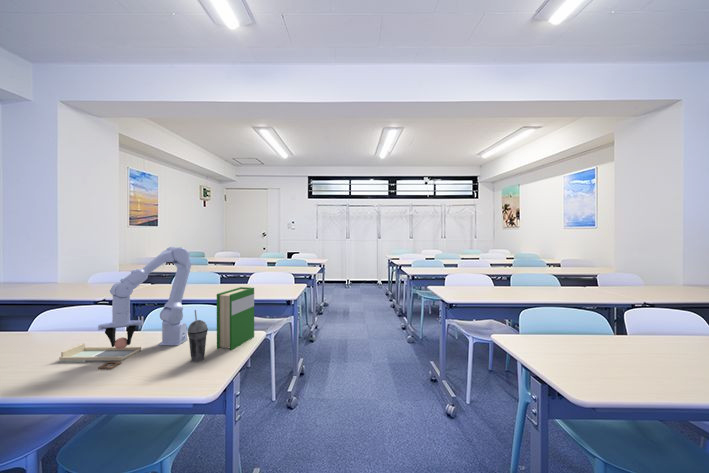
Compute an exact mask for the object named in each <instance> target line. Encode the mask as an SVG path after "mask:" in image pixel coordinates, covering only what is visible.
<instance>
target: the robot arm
mask: <svg viewBox="0 0 709 473" xmlns="http://www.w3.org/2000/svg"><path fill="white" fill-rule="evenodd" d="M170 262H171V263H173V265H175V267H176V272H175V275H174V278H173V283H172V286H171V290H170V293H169V294H170V295H169V298H168V301H166V303H165V304H164V305H163V308H162V310H160V313H159V318H160V320H161V321H162V323H161V335H162V337H161V342H160V343H157V346H179V345H182V343H184V342H186V341H188V340H189V337H188V333H187V332H188V326H187V324H186V323H183V322H181V321H182V320H183V318H184V313H183V310H184V307H183V304H182V301H183V298H184V294H185V291H186V286H187V282H188V280H189V277H190V276H189V274H190V271H191V269H192V268H191V267H192V264H191V260H190V252H189V251H188V250H187V249H186V247H185V248H184V247H183V246H180V247H175V246H169V247H168V248H166V249H164V250H163V251H161V252H160V254H158V255H157V256H156V257H154V258H153V259H152V260H151V261H150V262H149V263H147V264H146V265H145V266H143V268H136V269H133V270H131V271H130V274H128V275H127V276H126V277H124V278H121V279H120V280H119V282H115V283H114V284H113V285H112V286H111V287H110V289H109V293H110V294H111V295H112V306H111V308H112V310H111V312H112V313H111V314H112V316H111V317H112V318H111V320H112V322H108V323H100V324H98V326H97V331H103V330H105V331H104V334H105V335H106V336H107V339H108V340H109V341H110V345H111V347H115V346H114V343H115V341H116V332H117V329H120V328H126V335H127V337H126V339H127V346H131V343H132V338H133V335H134V333H135V330H136V329H137V327H138V326H139V327H143V326H144V319H139V320H134V319H133V320H131V295H132V293H133V291H134V289H136V288H137V287H138V286H140V285H142V283H144V282H145V281H146V280H148V277H149V274H151V273H153V272H154V271H155V270H156V269H157V268H159V267H160V266H162V265H164V264H165V263H170Z"/></svg>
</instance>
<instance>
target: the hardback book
mask: <svg viewBox="0 0 709 473" xmlns="http://www.w3.org/2000/svg"><path fill="white" fill-rule="evenodd" d="M253 338H255V287H243V286H239V287H236V288H233V289H229V290H226V291H223V292H218V293H216V350H219V348H220V349H222V348H227V349H229V351H233V350H235V349H236V348H238V347H240V346H242V345H243V344H245V343H247V342H249V340H251V339H253Z"/></svg>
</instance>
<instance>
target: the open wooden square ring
mask: <svg viewBox="0 0 709 473" xmlns="http://www.w3.org/2000/svg"><path fill="white" fill-rule="evenodd" d="M122 363H123V361H121V362H104V363H103V364H101V365H99V366H97V370H113V369H115V368H116V367H118V366H120V365H122ZM109 365H110V366H109Z"/></svg>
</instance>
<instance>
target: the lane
mask: <svg viewBox="0 0 709 473" xmlns="http://www.w3.org/2000/svg"><path fill="white" fill-rule="evenodd" d="M85 345H86V344H85V343H81V344H78V345H76V346H73V347H71V348H68V349H66V350H63V351H60V352H61V353H60V356H59V358H58V360H59V361H58V362H59V363H107V362H121V361H122V362H123V361H125V360H127V359H128V358H130V357H132V356H134V355H136V354H138V353H140V352H142V346H126V347H125V348H123V349H117V348H116V347H115V346H114V347H112V346H85Z"/></svg>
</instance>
